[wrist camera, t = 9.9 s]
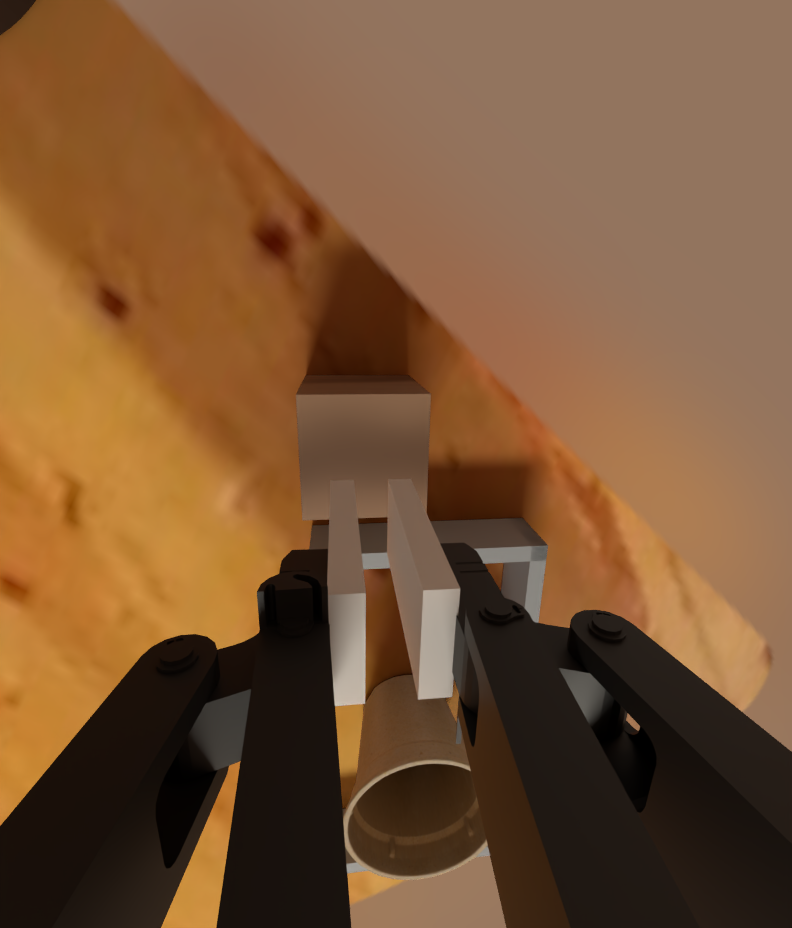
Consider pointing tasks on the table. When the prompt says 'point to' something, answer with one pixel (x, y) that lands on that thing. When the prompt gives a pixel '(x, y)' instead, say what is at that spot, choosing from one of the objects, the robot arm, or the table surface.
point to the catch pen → (493, 544)
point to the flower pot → (411, 788)
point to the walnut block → (361, 439)
